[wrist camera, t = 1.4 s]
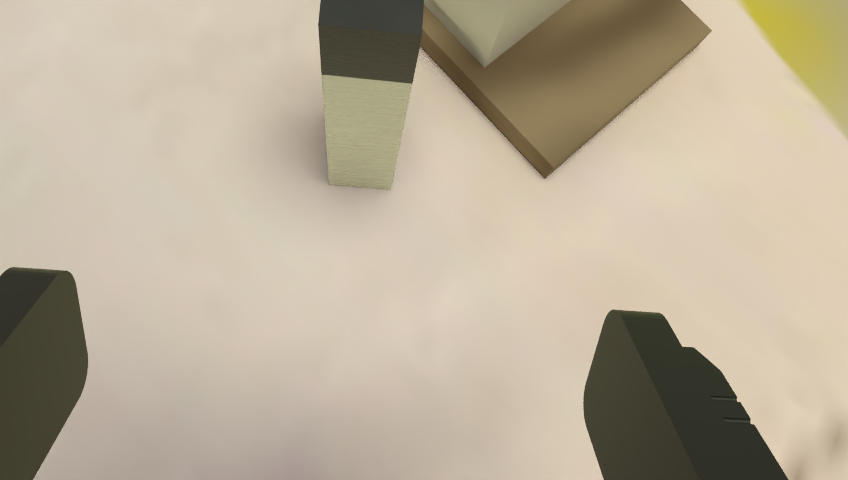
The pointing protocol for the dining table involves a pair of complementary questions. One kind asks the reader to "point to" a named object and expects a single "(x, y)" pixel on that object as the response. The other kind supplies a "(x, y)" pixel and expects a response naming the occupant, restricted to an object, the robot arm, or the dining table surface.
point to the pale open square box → (491, 22)
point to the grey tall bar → (367, 85)
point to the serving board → (569, 70)
